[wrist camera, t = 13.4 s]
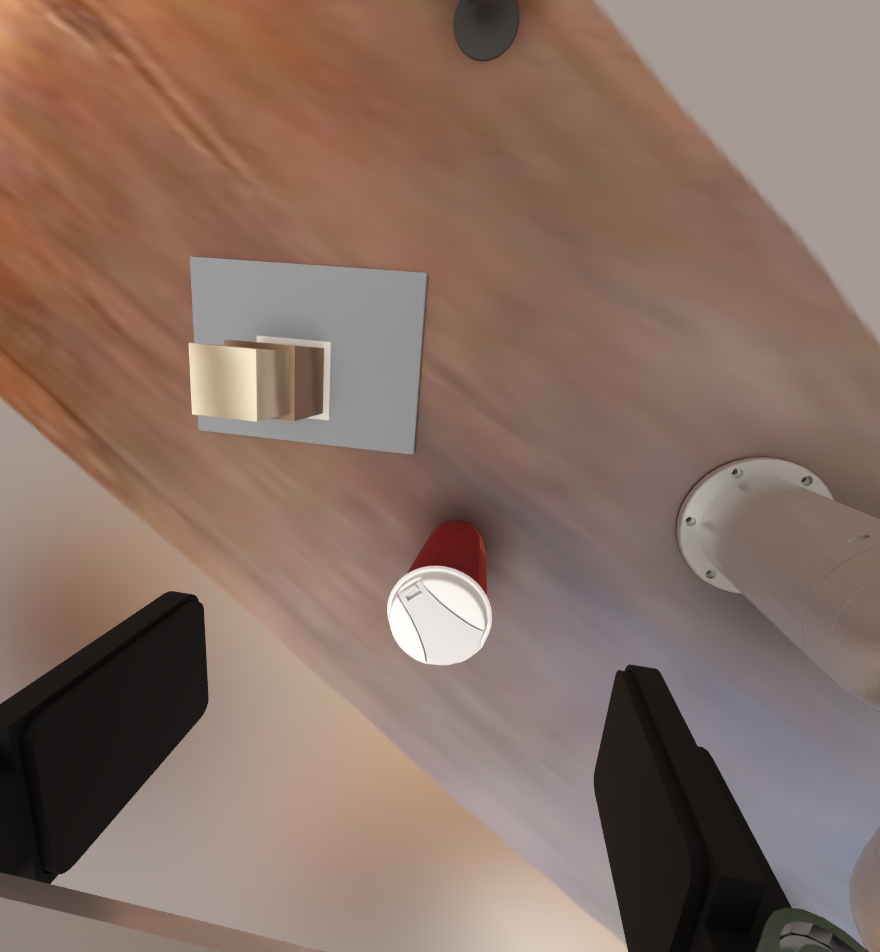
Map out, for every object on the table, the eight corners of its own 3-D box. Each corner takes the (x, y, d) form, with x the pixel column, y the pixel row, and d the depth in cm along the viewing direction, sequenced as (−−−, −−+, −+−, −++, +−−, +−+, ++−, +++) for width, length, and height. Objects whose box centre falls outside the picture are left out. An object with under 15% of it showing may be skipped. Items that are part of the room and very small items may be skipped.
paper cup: (403, 536, 45) (361, 609, 32) (465, 495, 43) (447, 554, 30) (449, 595, 46) (426, 690, 33) (511, 557, 44) (514, 642, 31)
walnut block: (324, 348, 41) (294, 345, 35) (322, 413, 43) (294, 421, 37) (262, 342, 42) (223, 339, 36) (263, 407, 43) (226, 413, 38)
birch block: (289, 351, 36) (256, 349, 31) (289, 414, 37) (256, 421, 32) (230, 345, 36) (188, 342, 31) (232, 407, 37) (192, 414, 33)
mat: (427, 274, 39) (426, 272, 38) (414, 453, 43) (413, 454, 42) (194, 258, 42) (189, 256, 41) (202, 429, 46) (198, 430, 45)
